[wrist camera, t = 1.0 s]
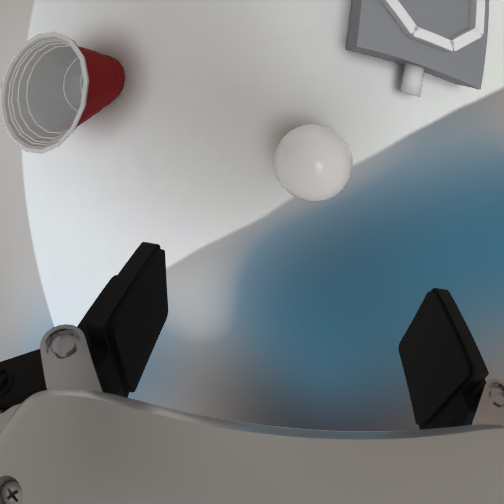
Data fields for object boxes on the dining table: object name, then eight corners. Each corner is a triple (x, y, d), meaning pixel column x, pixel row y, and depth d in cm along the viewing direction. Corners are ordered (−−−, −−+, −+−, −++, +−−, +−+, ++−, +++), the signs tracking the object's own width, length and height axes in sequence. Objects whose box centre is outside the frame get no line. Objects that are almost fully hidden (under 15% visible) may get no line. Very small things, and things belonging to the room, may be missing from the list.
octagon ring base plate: (356, -68, 17) (369, -90, 11) (465, -27, 16) (494, -36, 11) (342, 76, 27) (355, 78, 21) (452, 108, 26) (481, 119, 21)
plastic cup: (160, 45, 26) (100, 40, 16) (130, 134, 32) (69, 169, 22) (82, 27, 24) (10, 28, 15) (60, 110, 30) (-8, 137, 20)
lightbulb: (278, 170, 33) (275, 216, 24) (274, 112, 29) (269, 134, 20) (337, 169, 32) (358, 214, 23) (336, 111, 29) (361, 132, 20)
